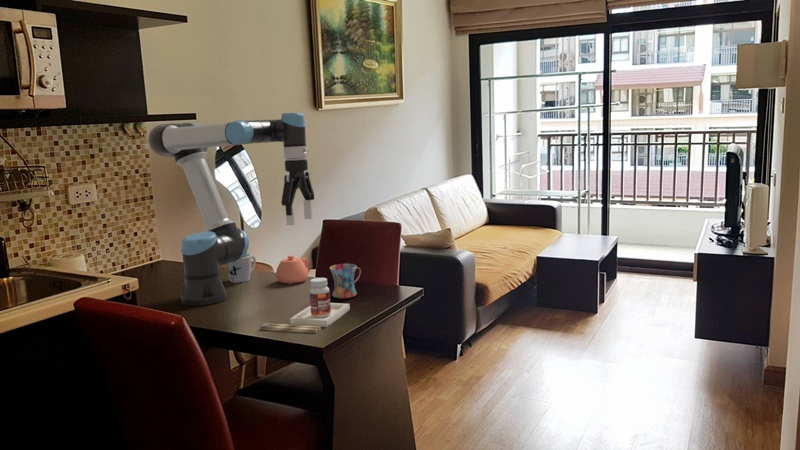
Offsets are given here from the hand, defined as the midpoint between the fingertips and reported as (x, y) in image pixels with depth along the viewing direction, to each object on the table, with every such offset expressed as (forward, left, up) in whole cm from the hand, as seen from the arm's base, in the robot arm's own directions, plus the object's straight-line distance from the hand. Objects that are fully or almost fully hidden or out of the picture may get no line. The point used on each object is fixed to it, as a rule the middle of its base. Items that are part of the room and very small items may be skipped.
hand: (300, 221), depth 220 cm
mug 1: (-37, +22, -27) cm, 51 cm away
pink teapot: (-15, +22, -27) cm, 38 cm away
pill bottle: (+15, -20, -26) cm, 36 cm away
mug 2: (+14, +5, -27) cm, 31 cm away
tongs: (+11, -33, -27) cm, 44 cm away
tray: (+15, -20, -27) cm, 37 cm away
